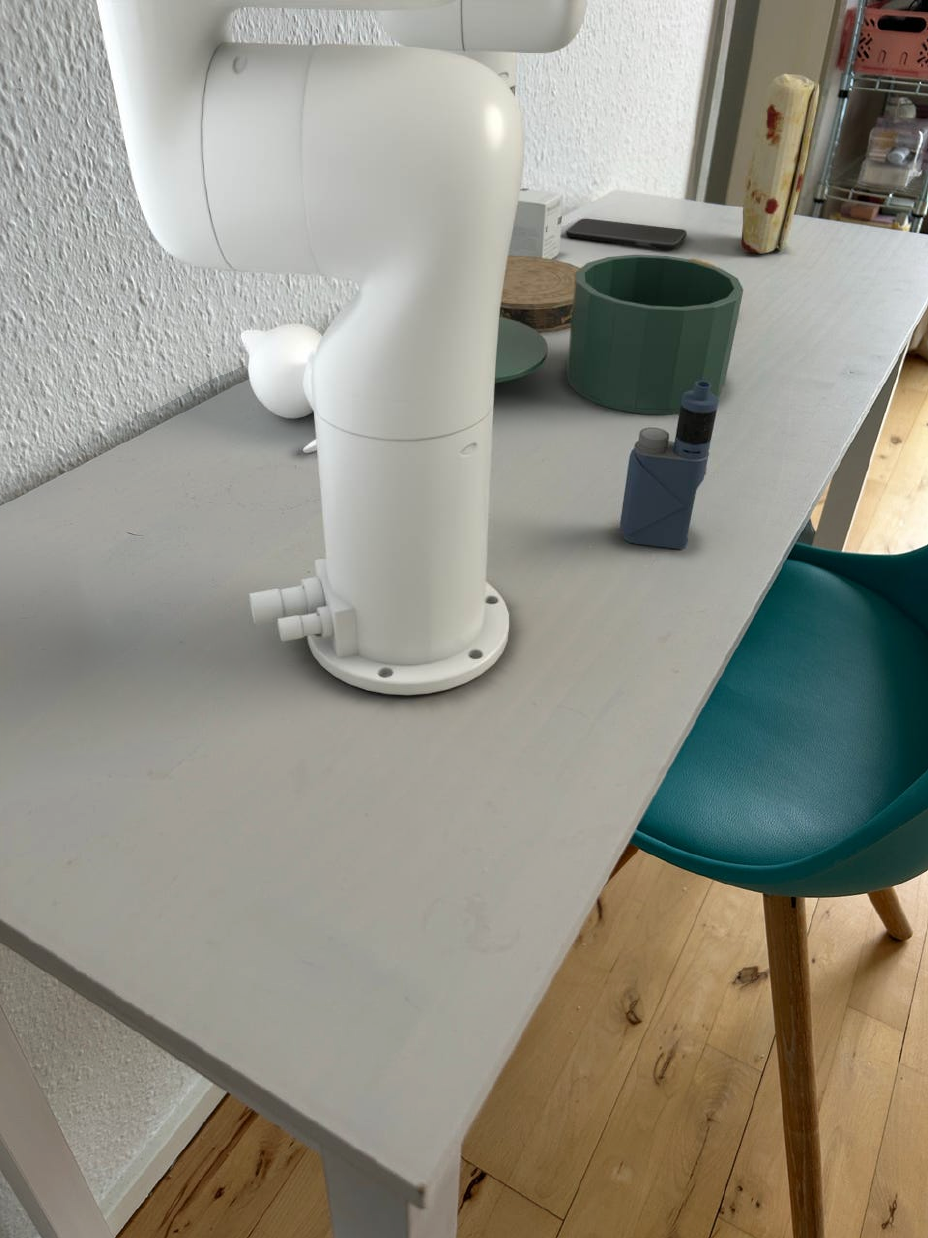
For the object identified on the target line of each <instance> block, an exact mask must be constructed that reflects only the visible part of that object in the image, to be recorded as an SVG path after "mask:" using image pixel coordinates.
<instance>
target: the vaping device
mask: <svg viewBox="0 0 928 1238" xmlns="http://www.w3.org/2000/svg"><path fill="white" fill-rule="evenodd" d="M710 390H711V383H709V382H707V381H697V382H695V386H694V390H691V391H687V392H685V393H684V394H683V396H682V402H681V407H680V413H678V420H677V426H676V431H675V437H674V441H672V440H671V441H670V440H669V439H670V433H669V432H668V431H666V430H665V429H662V428H659V427H652V426H651V427H645V428H642V429H640V431H639V434H638V440H637V441H635V443H634V446H633V449H632V450H631V451H630V454H629V458H628V465H627V473H626V479H625V484H624V485H625V486H624V492H623V499H622V506H621V507H622V508H621V513H620V522H619V527H620V531H621V536H622V538H623V539H624V540H625V541H626V542H628V543H630V544H635V545H643V546H651V547H659V548H667V549H677V550H682V549H686V547H687V545H688V544H689V537H688V535H689V531H690V525H691V520H692V515H693V510H694V506H695V505H694V504H695V501H696V495H697V490H698V489H699V487H700V486H701V484H702V483H703V481H704V479H705V475H706V474H707V472H708V471H707V470H708V469H707V468H708V467H707V465H708V460H709V457H710V447H711V441H712V437H713V431H714V427H715V422H716V416H717V412H718V406H719V403H720V397H717V396H716V395H715V394H713V393H711V392H710Z"/></svg>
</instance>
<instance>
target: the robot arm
mask: <svg viewBox="0 0 928 1238" xmlns="http://www.w3.org/2000/svg"><path fill="white" fill-rule="evenodd" d="M96 4H97V10H98V16H99V21H100V25H101V31H102V36H103V40H104V45H105V50H106V55H107V60H108V65H109V70H110V74H111V80H112V84H113V89H114V90H113V91H114V95H115V100H116V106H117V110H118V115H119V119H120V124H121V130H122V135H123V139H124V144H125V145H124V146H125V149H126V154H127V158H128V162H129V163H128V164H129V167H130V168H129V169H130V172H131V177H132V181H133V184H134V188H135V192H136V196H137V199H138V202H139V206H140V208H141V211H142V213H143V217H144V219H145V221H146V224H147V226H148V228H149V230H150V232H151V233H152V235H153V236H154V238H155V239H156V241H157V243H158V244H159V245H160V247H161V248H163V250H165V251H166V252H167V253H168V254H169V255H170V256H172V257H173V258H174V259H176V260H178V261H180V262H182V263H184V264H186V265H189V266H193V267H196V268H200V269H205V270H214V271H215V270H217V271H224V272H225V271H226V272H238V273H253V274H274V275H293V276H296V275H297V276H315V277H323V278H326V279H327V278H328V279H336V280H337V279H338V280H346V281H350V282H353V283H354V284H356V285H357V287H358V290H357V291H356V292H355V294H354V295H352V297H351V298H350V299H349V300H348V302H347V303H346V304H345V305H344V306H343V307H342V309H340V311H339V312H338V314H337V315H336V316H335V317H334V319H333V320H332V321H331V322H330V324H329V325H328V327H327V328H326V329H325V331H324V333H323V334H322V336H323V337H322V338H321V340H320V342H319V344H318V346H317V349H316V352H315V356H314V359H313V365H312V376H311V383H312V397H313V406H314V412H313V416H314V417H313V419H314V431H315V439H316V442H317V450H316V454H317V465H318V473H319V474H318V478H319V479H318V480H319V489H320V500H321V501H320V502H321V512H322V513H321V514H322V515H321V516H322V525H323V526H322V527H323V538H324V551H325V558H318V559H315V560H314V566H315V567H314V568H315V576H312V577H308V578H302V579H301V580H300V585H296V586H290V587H285V588H272V589H267V590H260V591H255V592H250V593H248V594H249V602H250V603H249V604H250V609H251V613H252V618H253V623H254V625H261V624H266V623H273V622H277V628H278V632H279V637H280V641H281V643H282V642H288V641H295V640H299V639H304V638H305V637H307V644H308V646H309V649H310V651H311V653H312V656H313V657H314V658H315V660H316V661H317V662H318V664H319V665H320V666H321V667H322V668H323V669H325V670H326V671H328V673H330V674H331V675H332V676H333V677H335V678H337V679H339V680H340V681H342V682H344V683H346V684H348V685H350V686H353V687H356V688H360V689H363V690H366V691H367V692H369V691H370V692H374V693H379V694H385V695H396V696H397V695H398V696H415V695H427V694H432V693H433V694H434V693H438V692H442V691H447V690H450V689H454V688H456V687H458V686H462V685H464V684H466V683H468V682H470V681H472V680H475V678H477V677H480V676H481V675H483V674H484V673H485V672H486V671H488V670H489V669H490V668H491V667H492V666H494V665H495V663H497V661H498V660H499V658H500V657H501V656H502V654H503V653H504V651H505V649H506V646H507V643H508V641H509V632H510V613H509V610H508V607H507V605H506V602H505V600H504V598H503V597H502V595H500V593H499V592H498V591H497V590H496V589H495V588H494V586H492V585H491V584H490V583H489V582H488V581H487V568H488V567H487V566H488V541H489V521H490V520H489V517H490V496H491V495H490V494H491V474H492V473H491V470H492V449H493V447H492V446H493V423H494V402H495V384H496V383H495V364H496V351H497V338H498V326H499V313H500V304H501V298H502V291H503V284H504V277H505V270H506V263H507V258H508V252H509V247H510V242H511V237H512V231H513V226H514V221H515V216H516V210H517V205H518V200H519V195H520V189H521V188H522V183H523V182H522V181H523V173H524V165H525V127H524V120H523V115H522V112H521V109H520V105H519V103H518V101H517V98H516V84H517V65H518V61H517V60H518V53H519V54H550V53H554V52H558V51H560V50H562V49H564V48H566V47H567V46H568V45H570V44H571V43H572V42H573V41H574V39H575V38H576V36H577V35H578V33H579V31H580V29H581V27H582V25H583V22H584V19H585V16H586V12H587V6H588V0H96ZM244 8H262V9H264V8H265V9H266V8H268V9H290V10H291V9H292V10H293V9H295V10H323V11H324V10H327V11H328V10H329V11H330V10H331V11H364V12H365V11H370V12H372V11H373V12H375V14H376V16H377V18H378V20H379V22H380V25H381V27H382V29H383V30H384V31H385V33H386V34H387V35H388V36H389V38H390V39H392V41H394V42H396V43H397V44H399V45H380V44H379V45H377V44H350V43H349V44H348V43H319V44H292V43H269V42H268V43H267V42H266V43H265V42H262V43H261V42H236V41H235V42H234V41H232V37H231V36H232V35H231V21H232V20H231V19H232V13H233V12H235V11H237V10H239V9H244Z"/></svg>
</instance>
